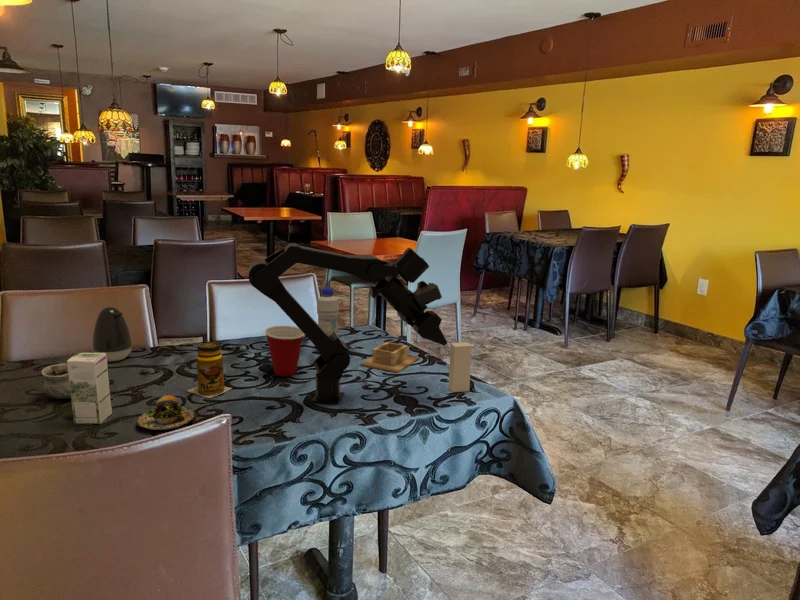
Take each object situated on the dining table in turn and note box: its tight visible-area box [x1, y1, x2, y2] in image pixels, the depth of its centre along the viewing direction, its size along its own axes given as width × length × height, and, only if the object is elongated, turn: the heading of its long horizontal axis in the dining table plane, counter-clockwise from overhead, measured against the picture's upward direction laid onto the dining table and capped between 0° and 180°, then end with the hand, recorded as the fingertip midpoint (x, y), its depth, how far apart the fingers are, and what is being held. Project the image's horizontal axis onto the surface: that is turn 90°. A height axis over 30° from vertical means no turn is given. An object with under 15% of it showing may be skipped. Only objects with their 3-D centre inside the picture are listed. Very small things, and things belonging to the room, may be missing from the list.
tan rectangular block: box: [448, 341, 473, 393], centre depth 145 cm, size 4×3×12 cm, turn 104°
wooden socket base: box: [359, 341, 420, 374], centre depth 165 cm, size 14×12×4 cm
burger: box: [136, 386, 197, 431], centre depth 122 cm, size 12×12×8 cm
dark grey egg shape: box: [91, 306, 134, 363], centre depth 161 cm, size 10×10×15 cm
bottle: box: [316, 286, 340, 337], centre depth 171 cm, size 7×7×20 cm
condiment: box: [186, 341, 233, 399], centre depth 140 cm, size 7×8×12 cm
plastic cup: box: [264, 325, 306, 377], centre depth 153 cm, size 11×11×12 cm
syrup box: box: [66, 352, 113, 425], centre depth 122 cm, size 6×6×14 cm
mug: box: [40, 362, 71, 400], centre depth 135 cm, size 10×12×10 cm
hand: (439, 338), depth 143 cm, fingers open, 9 cm apart
